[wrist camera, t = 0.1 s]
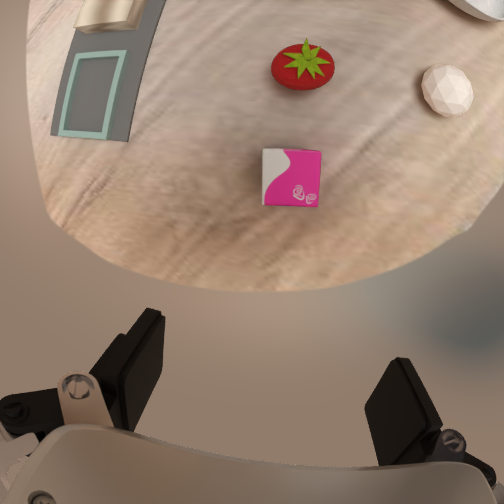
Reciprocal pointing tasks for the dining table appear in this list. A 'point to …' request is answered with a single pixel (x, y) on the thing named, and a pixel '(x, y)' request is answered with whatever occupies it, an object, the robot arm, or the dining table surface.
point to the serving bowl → (482, 9)
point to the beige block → (109, 15)
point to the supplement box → (290, 177)
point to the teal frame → (112, 99)
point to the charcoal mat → (107, 76)
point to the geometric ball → (447, 90)
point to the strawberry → (303, 67)
